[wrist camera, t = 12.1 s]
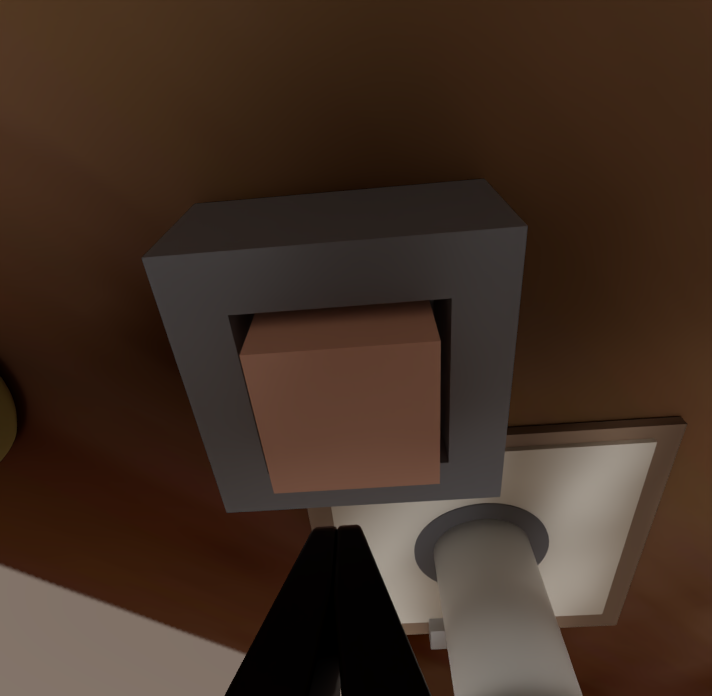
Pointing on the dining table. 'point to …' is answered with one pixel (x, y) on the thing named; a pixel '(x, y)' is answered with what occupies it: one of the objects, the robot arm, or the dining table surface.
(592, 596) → the white flat square panel
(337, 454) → the button
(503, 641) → the grey cylinder
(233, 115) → the dining table surface
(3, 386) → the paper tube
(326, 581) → the robot arm
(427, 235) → the button housing
